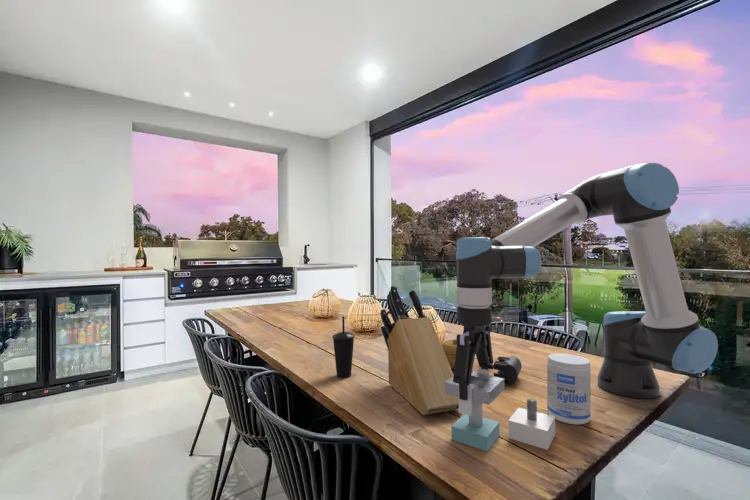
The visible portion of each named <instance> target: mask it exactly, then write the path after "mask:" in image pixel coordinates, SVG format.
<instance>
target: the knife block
mask: <svg viewBox="0 0 750 500" xmlns="http://www.w3.org/2000/svg"><path fill="white" fill-rule="evenodd" d="M408 295H409V298H410V300H411V301H412V305H413V307H414V310H415V311H416V313H417V317H410V315H409V313H408V309H407V308H405V307H404V304H403V301H402V298H401V295H400V294H399V291H398V287H397V286H396V285H391V287H390V289H389V292H388V294H387V296H386V302H387V304H386V305H387V310H388V311H387V310H386V309H383V308H382V309H381V310H380V319H381V322H382V325H381V326H380V330H381V333H382V335H383V339H384V343H385V346H386V347H387V351H388V352H387V353H388V354H387V355H388V384H389V385H390V386H391V387H392V388H393V389H394V390H395V391H396V392H397V393H399V394H400V395H402V396H403V397H404V398H405V400H406V401H407V402H408V403H409V404H411V405H412V406H413V407H414V408H415V409H416V410H417V411H418V412H419V413H420V414H421V415H423V416H427V415H432V414H439V413H443V412H445V413H446V412H451V411H457V410H459V397H456V396H453V395H449V394H445V393H444V382H445V381H447V380H448V379H450V378H451V377H453V376H454V372H453V371H452V368H450V365H449V363H448V360H447V358H446V355H445V353H444V351H443V348H442V346H441V344H442V343H441V341H440V339H439V337H438V334H437V331H436V329H435V326H434V324H433V322H432V319H431V318H430V317H428V316H426V315H425V314H424V312H423V311H424V310H423V306H422V303H421V300H420V298H419V295H418V294H417V292H416V291H415V290H411V291H409V293H408ZM389 315H390V317H391V318H392V322H393V323H392V322H391V320H390V317H389Z"/></svg>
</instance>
